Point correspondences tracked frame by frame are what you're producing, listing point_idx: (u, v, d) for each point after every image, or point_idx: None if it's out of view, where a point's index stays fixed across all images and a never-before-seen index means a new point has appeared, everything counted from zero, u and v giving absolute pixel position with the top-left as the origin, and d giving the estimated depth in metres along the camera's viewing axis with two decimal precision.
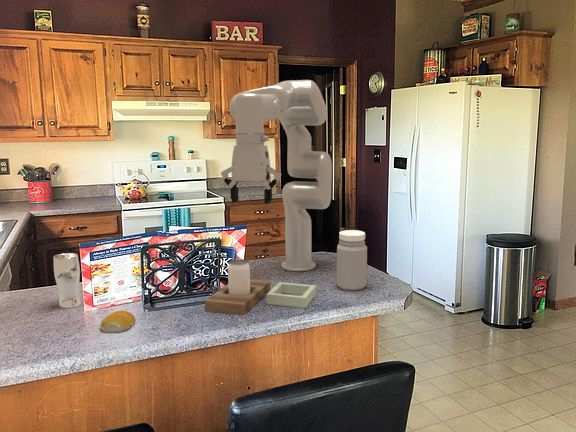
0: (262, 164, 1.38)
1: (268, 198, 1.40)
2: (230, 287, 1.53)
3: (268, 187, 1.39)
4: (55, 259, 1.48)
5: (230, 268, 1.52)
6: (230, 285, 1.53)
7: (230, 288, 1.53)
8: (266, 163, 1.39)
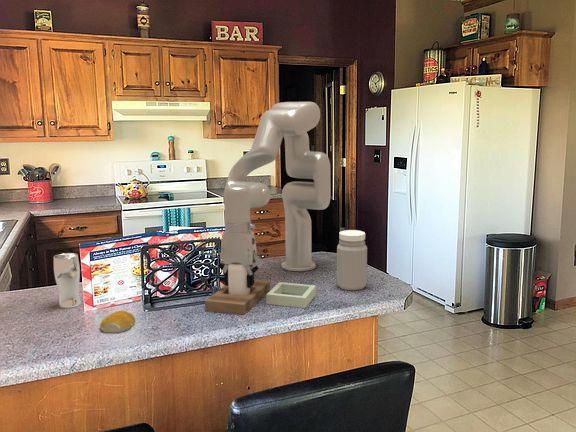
0: (249, 250, 1.50)
1: (250, 282, 1.53)
2: (230, 287, 1.53)
3: (250, 273, 1.52)
4: (55, 259, 1.48)
5: (230, 268, 1.52)
6: (230, 285, 1.53)
7: (230, 288, 1.53)
8: (252, 249, 1.51)
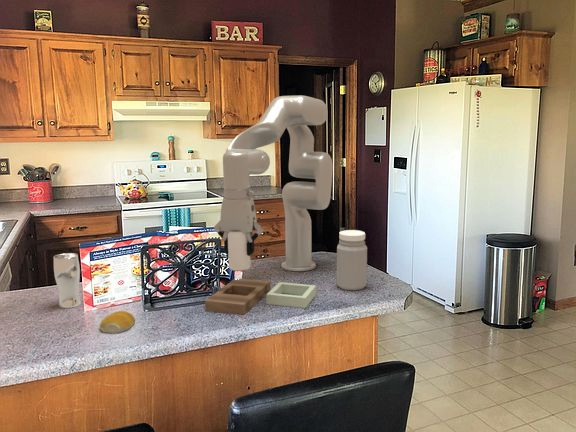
0: (248, 217, 1.48)
1: (250, 250, 1.52)
2: (229, 255, 1.52)
3: (250, 240, 1.51)
4: (55, 259, 1.48)
5: (230, 236, 1.51)
6: (230, 253, 1.52)
7: (230, 256, 1.52)
8: (252, 216, 1.49)
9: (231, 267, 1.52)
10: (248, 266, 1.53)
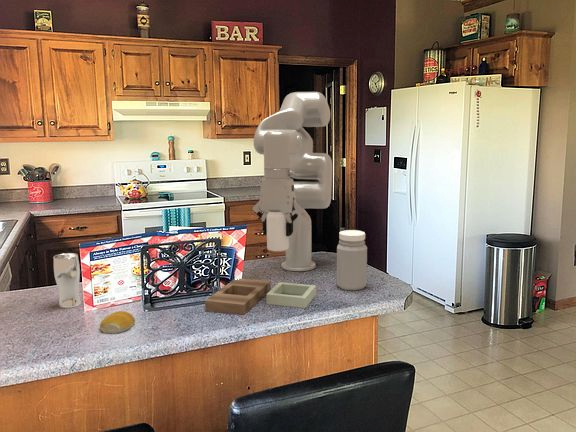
0: (288, 197, 1.47)
1: (289, 231, 1.50)
2: (268, 235, 1.51)
3: (289, 221, 1.49)
4: (55, 259, 1.48)
5: (269, 216, 1.50)
6: (269, 233, 1.51)
7: (268, 236, 1.51)
8: (292, 196, 1.48)
9: (269, 248, 1.51)
10: (286, 247, 1.52)
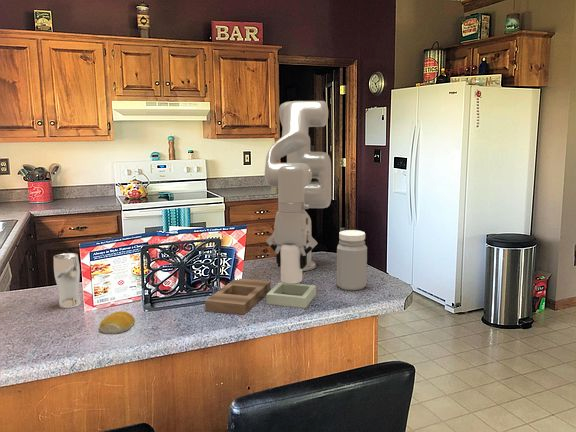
0: (303, 230, 1.49)
1: (303, 263, 1.52)
2: (282, 268, 1.52)
3: (304, 254, 1.51)
4: (55, 259, 1.48)
5: (283, 249, 1.51)
6: (283, 266, 1.52)
7: (283, 269, 1.52)
8: (306, 229, 1.50)
9: (284, 280, 1.53)
10: (300, 279, 1.53)
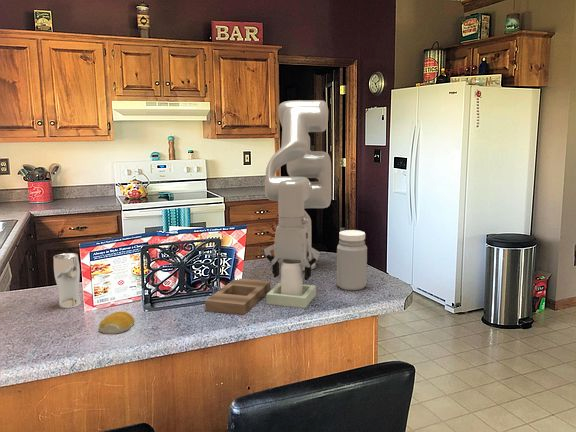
0: (303, 245, 1.50)
1: (308, 275, 1.52)
2: (283, 286, 1.53)
3: (308, 265, 1.51)
4: (55, 259, 1.48)
5: (284, 267, 1.52)
6: (283, 284, 1.53)
7: (283, 287, 1.53)
8: (306, 243, 1.51)
9: None
10: None
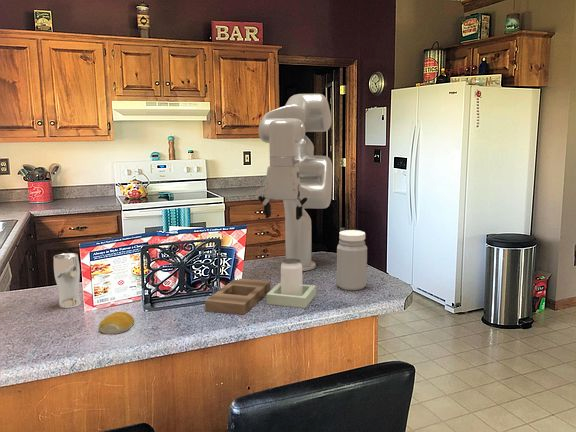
0: (294, 184, 1.52)
1: (299, 214, 1.55)
2: (283, 286, 1.53)
3: (299, 204, 1.54)
4: (55, 259, 1.48)
5: (283, 267, 1.52)
6: (283, 284, 1.53)
7: (283, 287, 1.53)
8: (297, 183, 1.53)
9: None
10: None
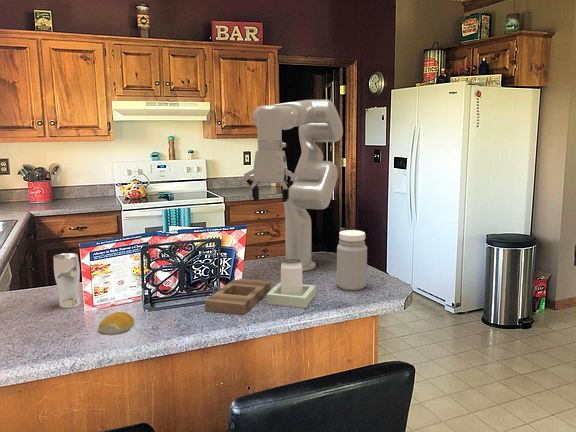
0: (280, 167, 1.58)
1: (285, 197, 1.61)
2: (283, 286, 1.53)
3: (285, 187, 1.60)
4: (55, 259, 1.48)
5: (283, 267, 1.52)
6: (283, 284, 1.53)
7: (283, 287, 1.53)
8: (284, 166, 1.59)
9: None
10: None
